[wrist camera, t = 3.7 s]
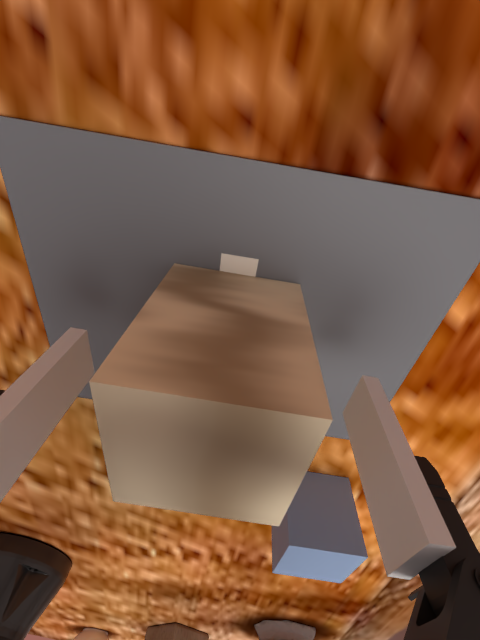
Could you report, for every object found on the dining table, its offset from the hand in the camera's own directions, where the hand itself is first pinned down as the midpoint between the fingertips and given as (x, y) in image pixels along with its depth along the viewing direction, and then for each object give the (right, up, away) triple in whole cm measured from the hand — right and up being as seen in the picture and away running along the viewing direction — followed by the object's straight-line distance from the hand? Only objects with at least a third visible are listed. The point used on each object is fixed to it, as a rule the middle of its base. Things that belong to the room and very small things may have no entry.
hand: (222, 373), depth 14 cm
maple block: (0, +2, +4) cm, 4 cm away
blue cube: (+8, -14, +14) cm, 21 cm away
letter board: (0, +3, +4) cm, 5 cm away
